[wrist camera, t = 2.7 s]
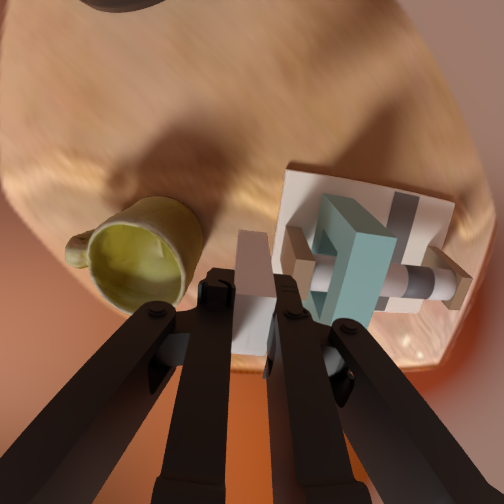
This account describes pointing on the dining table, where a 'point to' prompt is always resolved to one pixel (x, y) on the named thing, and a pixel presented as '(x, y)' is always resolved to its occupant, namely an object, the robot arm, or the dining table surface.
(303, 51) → the dining table surface
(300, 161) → the dining table surface
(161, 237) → the mug
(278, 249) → the pipe rail
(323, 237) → the collar
